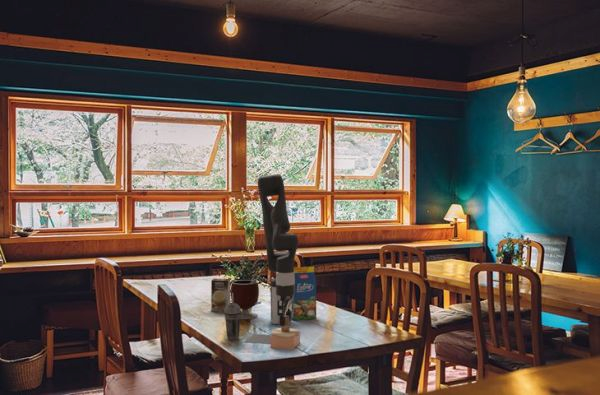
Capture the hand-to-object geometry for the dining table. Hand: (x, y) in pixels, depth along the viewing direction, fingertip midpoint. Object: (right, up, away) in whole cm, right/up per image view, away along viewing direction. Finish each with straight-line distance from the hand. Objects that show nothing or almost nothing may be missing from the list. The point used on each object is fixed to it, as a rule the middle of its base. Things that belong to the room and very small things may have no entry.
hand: (285, 323), depth 239 cm
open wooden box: (0, -9, 0) cm, 9 cm away
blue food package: (+7, -9, +51) cm, 52 cm away
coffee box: (-35, -8, +70) cm, 79 cm away
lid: (0, -4, 0) cm, 4 cm away
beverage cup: (-22, -9, +10) cm, 26 cm away
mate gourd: (-21, -9, +55) cm, 60 cm away
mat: (-9, -9, +10) cm, 16 cm away
